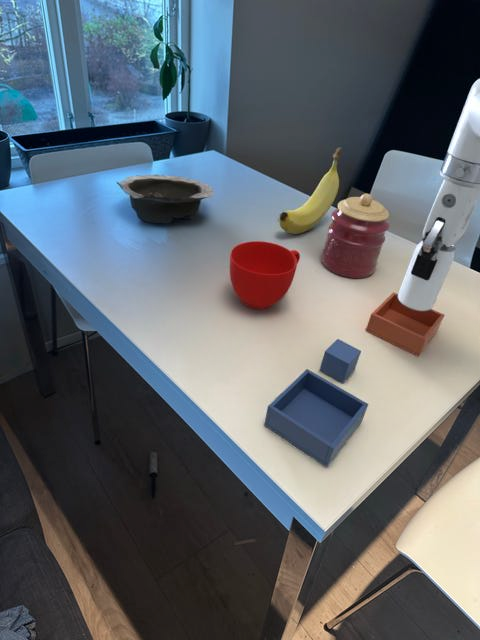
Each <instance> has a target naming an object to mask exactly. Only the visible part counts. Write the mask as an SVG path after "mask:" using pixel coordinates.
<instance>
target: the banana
mask: <svg viewBox="0 0 480 640" xmlns="http://www.w3.org/2000/svg"><path fill="white" fill-rule="evenodd" d="M342 150H343V149H342V147H341V146H340V147H337V148H336V149H335V151H334V153H333V154H332V158H333V162H332V165H331V167H330V169H329V170H328V172H326V173H325V174H324V176H322V179H321V180H320V182H319V183H318V184H317V186H316V188H315V190H314V191H313V193H312V194H311V196H310V197H309V198H308V200H307V201H306V202H305V203H304V204H303V205H301V206H300V207H298V208H296V209H292V210H291V209H289V210H284V211H282V212H281V213H280V214H279V217H278V224H279V228H281V230H283V231H284V232H286V233H289V234H294V235H295V234H296V235H298V234H302V233H306V232H307V231H309V230H310V229H312V228H314V227H315V226H316V225H317V224H318V223H319V222H321V220H322V219H323V218H324V216H326V214H327V213H328V211H329V209H331V207H332V205H333V203H334V201H335V200H336V197H337V195H338V191H339V187H340V177H339V174H338V170H337V166H338V161H339V159H340V158H341V155H342Z"/></svg>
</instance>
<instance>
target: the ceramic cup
mask: <svg viewBox="0 0 480 640" xmlns="http://www.w3.org/2000/svg"><path fill="white" fill-rule="evenodd" d="M300 254H301V253H300V252H299V251H298V250H296V249H292V250H290V249H288V248H287V247H285V246H282V245H280V244H277V243H273V242H270V241H263V240H261V241H259V240H253V241H245V242H241V243H239V244H237V245H236V246H234V247H232V249H231V251H230V253H229V277H230V283H231V287H232V289H233V291H234V293H235V294H236V296H237V297H238V298H239V300H240V301H241V302H242V304H244V305H245V306H246V307H248V308H251V309H255V310H265V309H269V308H271V307H272V306H274V305H275V304H277V303H278V302H279V301H281V300H282V299H283V298H284V297H285V296H286V294H287V293H288V291H289V289H290V288H291V285H292V283H293V281H294V277H295V274H296V271H297V268H298V264H299V261H300V260H301V259H300V258H301V255H300Z"/></svg>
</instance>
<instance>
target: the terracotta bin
mask: <svg viewBox="0 0 480 640" xmlns="http://www.w3.org/2000/svg"><path fill="white" fill-rule="evenodd" d="M398 294H399V293H396V292H394V291H393V292H392V293H391V294H390V295H389V296H388V297H386V299H384V301H383V302H382V303H381V304H379V306H378V307H377V308H375V309H374V310H373V312H371V314H370V316H369V319H368V321H367V322H368V323H367V325H366V328H365V331H366V332H367V333H369V334H371V335H374V336H376V337H378V338H380V339H382V340H384V341H385V342H388V343H390V344H392V345H394V346H395V347H397V348H400V349H402V350H403V351H406V352H408V353H410V354H412V355H414V356H416V357H420V355H421V354H422V352H423V351H424V350H425V348H426V347H427V346H428V344H429V343H430V342H431V340H432V339H433V337H434V336H435V335H436V333H437V332H438V330H439V328H440V326H441V324H442V322H443V320H444V317H445V316H446V315H445V314H444V313H442V312H439V311H437V310H435V309H432V308H431V309H430V310H427V311H416V310H412V309H410V308H407V307H405V306H404V305H403V304H401V303H400V301H399V299H398Z"/></svg>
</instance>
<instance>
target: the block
mask: <svg viewBox="0 0 480 640" xmlns="http://www.w3.org/2000/svg"><path fill="white" fill-rule="evenodd" d="M361 353H362V350H361V349H359V348H356V347H354V346H353V345H351V344H349V343H347V342H345V341H343V340H341V339H340V338H337V339H336V340H335V341H334V342H333V343H332V344H330V346H328V347H327V349H325V351H324V353H323V357H322V359H321V364H320V367H319V372H321V373H323V374H325V375H327V376H328V377H330V378H332V379H333V380H336V381H337V382H339V383H341V384H344V383H345V382H346V380H348V379H349V377H350V376H351V375H352V374H353V373H354V371H355V370H356V368H357V365H358V361H359V359H360V357H361Z"/></svg>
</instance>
